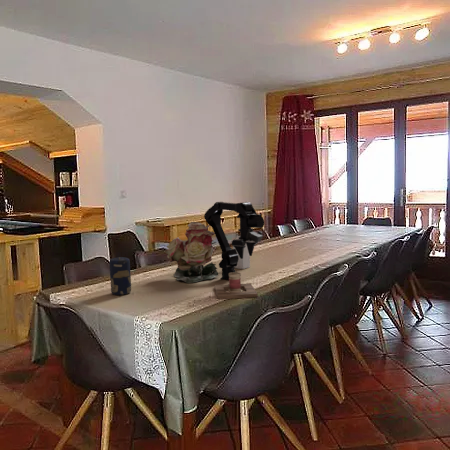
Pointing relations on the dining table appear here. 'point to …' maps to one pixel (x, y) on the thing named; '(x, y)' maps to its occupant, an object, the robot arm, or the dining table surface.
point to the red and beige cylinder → (234, 282)
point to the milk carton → (246, 258)
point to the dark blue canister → (120, 275)
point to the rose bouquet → (193, 254)
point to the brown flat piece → (225, 295)
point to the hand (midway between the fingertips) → (246, 257)
